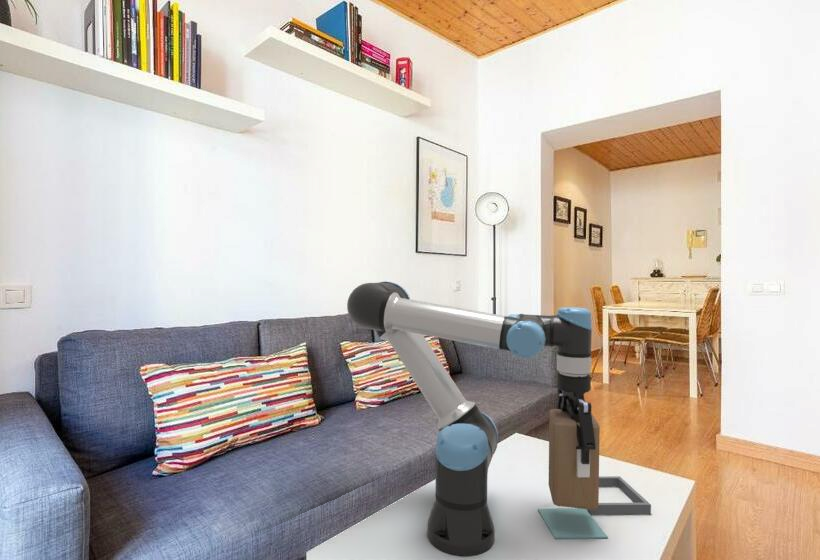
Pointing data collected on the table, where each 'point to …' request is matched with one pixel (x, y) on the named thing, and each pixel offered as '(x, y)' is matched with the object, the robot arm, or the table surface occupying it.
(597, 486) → the wooden block
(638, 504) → the gray square frame
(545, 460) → the table surface
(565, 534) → the board
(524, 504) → the table surface
